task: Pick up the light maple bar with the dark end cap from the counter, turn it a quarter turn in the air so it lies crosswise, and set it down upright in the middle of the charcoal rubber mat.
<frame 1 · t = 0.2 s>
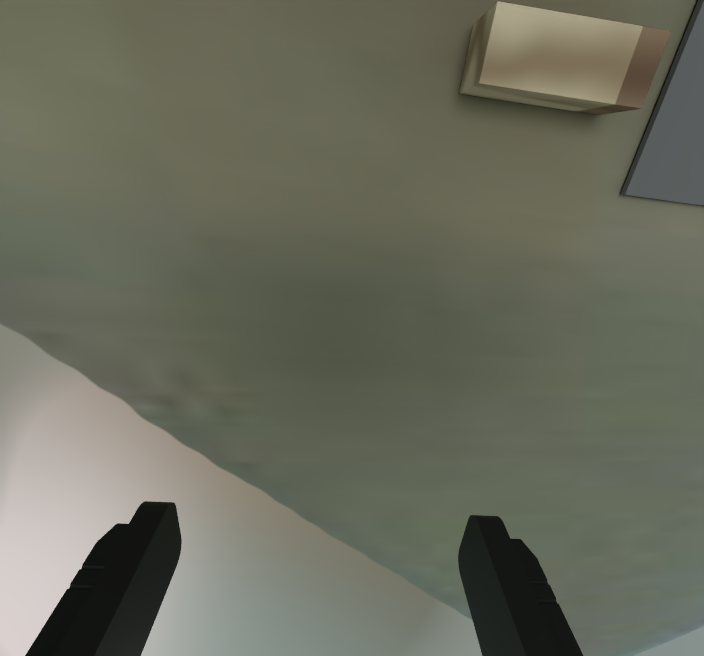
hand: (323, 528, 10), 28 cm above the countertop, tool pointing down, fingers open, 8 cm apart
maple bar: (538, 72, 30), on the countertop
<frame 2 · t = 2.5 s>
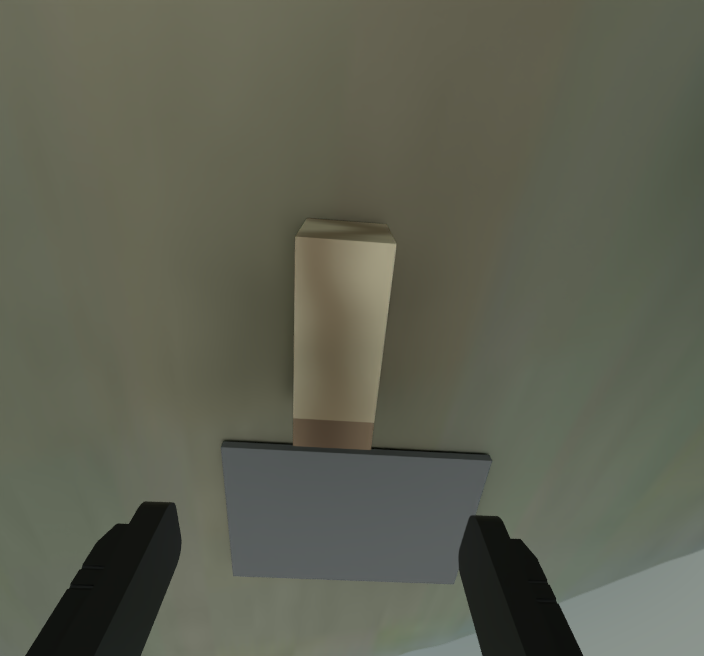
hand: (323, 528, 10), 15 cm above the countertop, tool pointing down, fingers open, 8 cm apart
maple bar: (340, 318, 24), on the countertop
mat: (350, 517, 31), on the countertop
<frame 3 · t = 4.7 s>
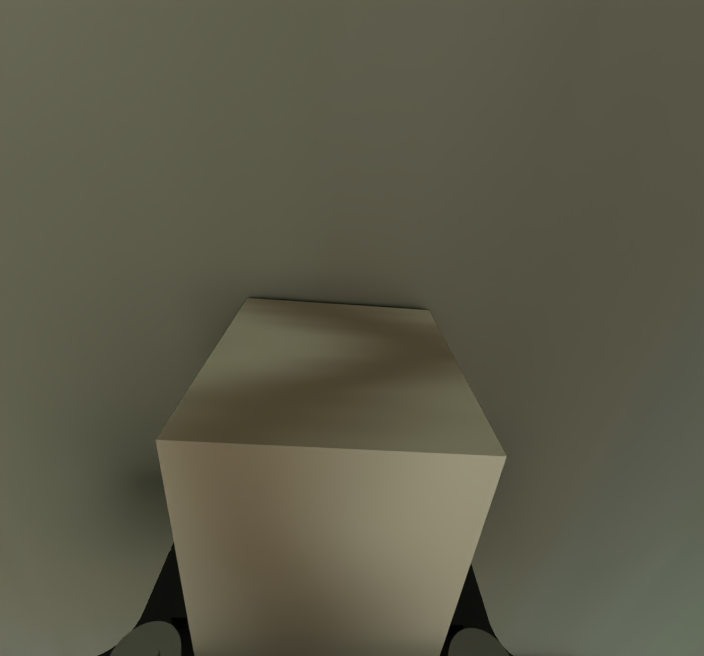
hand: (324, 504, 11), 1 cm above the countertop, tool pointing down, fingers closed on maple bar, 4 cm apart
maple bar: (326, 480, 12), on the countertop, touching gripper
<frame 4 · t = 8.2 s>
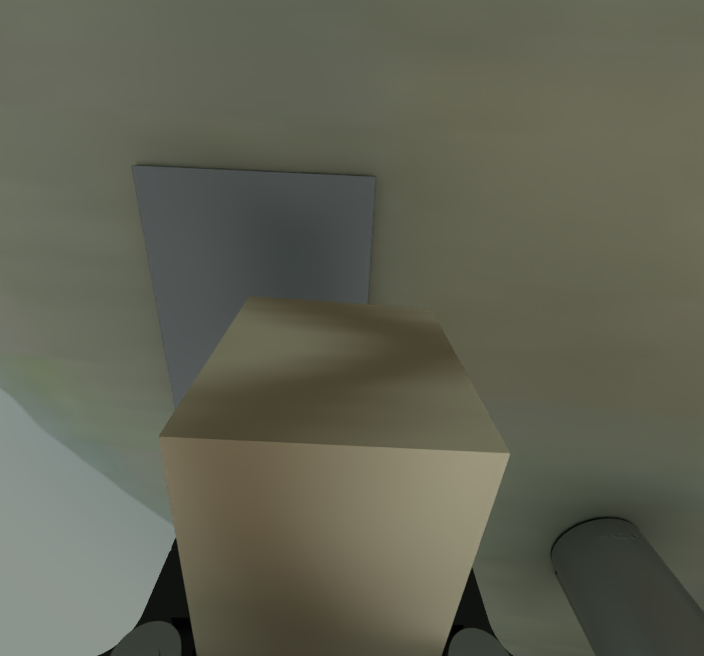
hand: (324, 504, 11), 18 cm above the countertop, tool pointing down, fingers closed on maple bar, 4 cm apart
maple bar: (327, 479, 12), point 17 cm above the countertop, touching gripper
mat: (265, 317, 28), on the countertop
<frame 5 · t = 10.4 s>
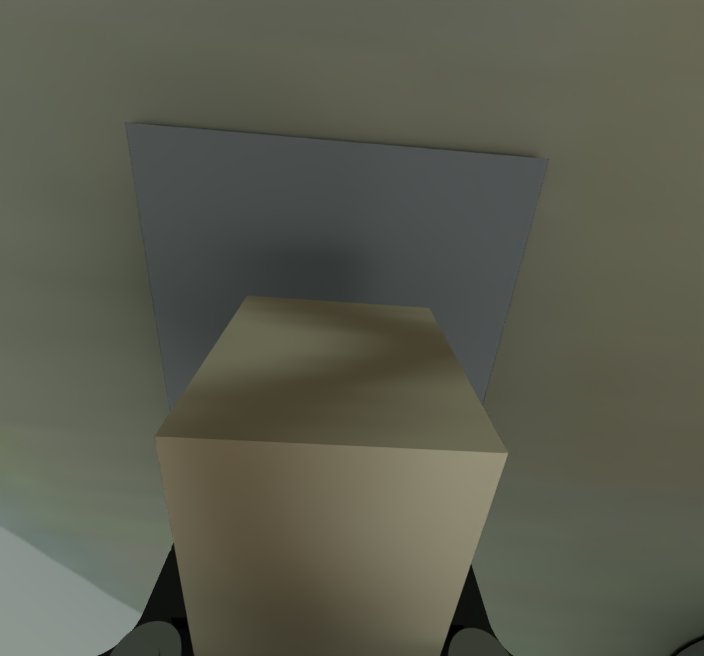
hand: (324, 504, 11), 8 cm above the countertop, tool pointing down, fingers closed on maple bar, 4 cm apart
maple bar: (326, 479, 12), point 7 cm above the countertop, touching gripper
mat: (329, 373, 18), on the countertop
when the fingers open (3 cm above the countertop, at t = 12.1 s): maple bar drops 2 cm, resting on mat.
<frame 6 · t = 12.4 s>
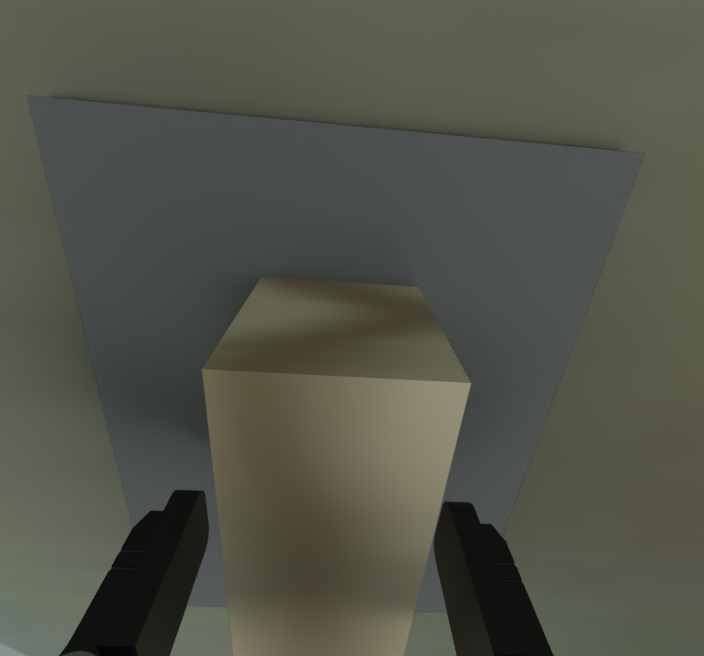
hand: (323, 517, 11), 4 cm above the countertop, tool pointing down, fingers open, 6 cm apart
maple bar: (330, 443, 13), point 1 cm above the countertop, touching mat
mat: (328, 432, 14), on the countertop
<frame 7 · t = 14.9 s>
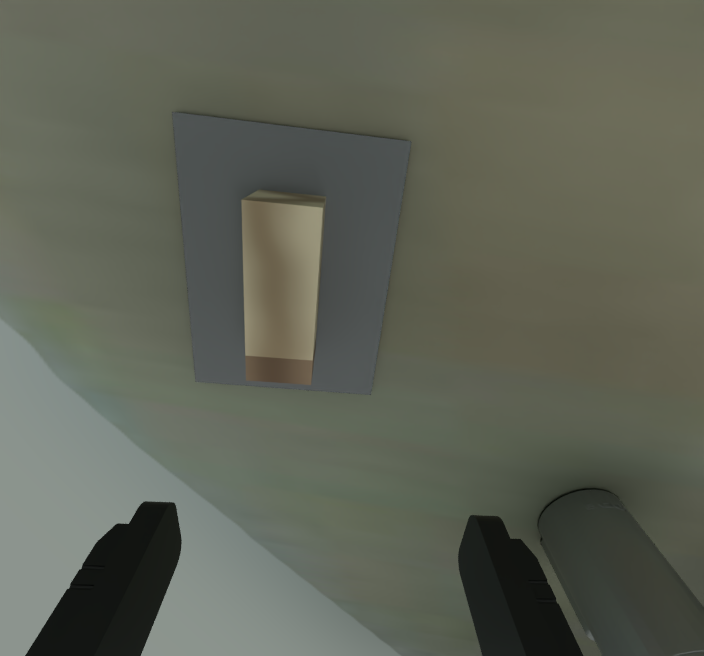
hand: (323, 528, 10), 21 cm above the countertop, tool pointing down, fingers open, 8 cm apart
maple bar: (290, 277, 28), point 1 cm above the countertop, touching mat
mat: (289, 275, 29), on the countertop
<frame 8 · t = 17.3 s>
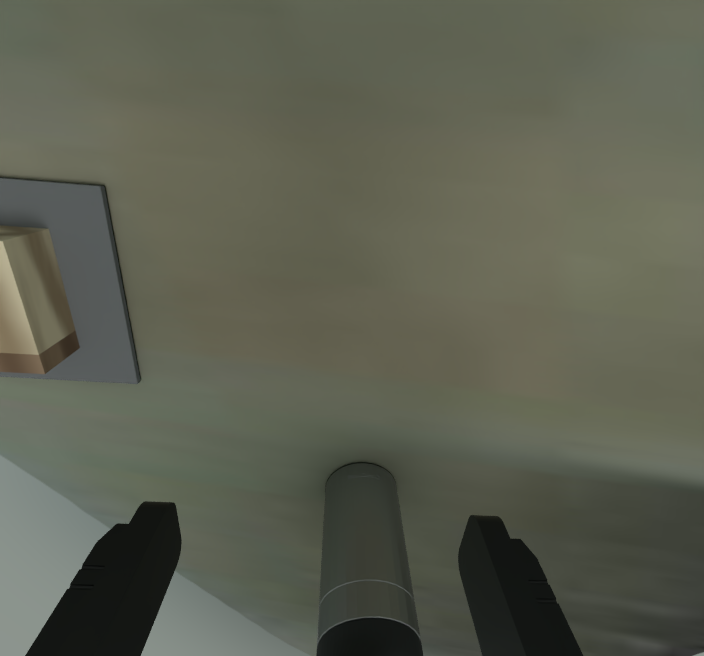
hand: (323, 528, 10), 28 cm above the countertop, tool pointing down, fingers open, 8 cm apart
maple bar: (40, 291, 36), point 1 cm above the countertop, touching mat
mat: (44, 289, 36), on the countertop
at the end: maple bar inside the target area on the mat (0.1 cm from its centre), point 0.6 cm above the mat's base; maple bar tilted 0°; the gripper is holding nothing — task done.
